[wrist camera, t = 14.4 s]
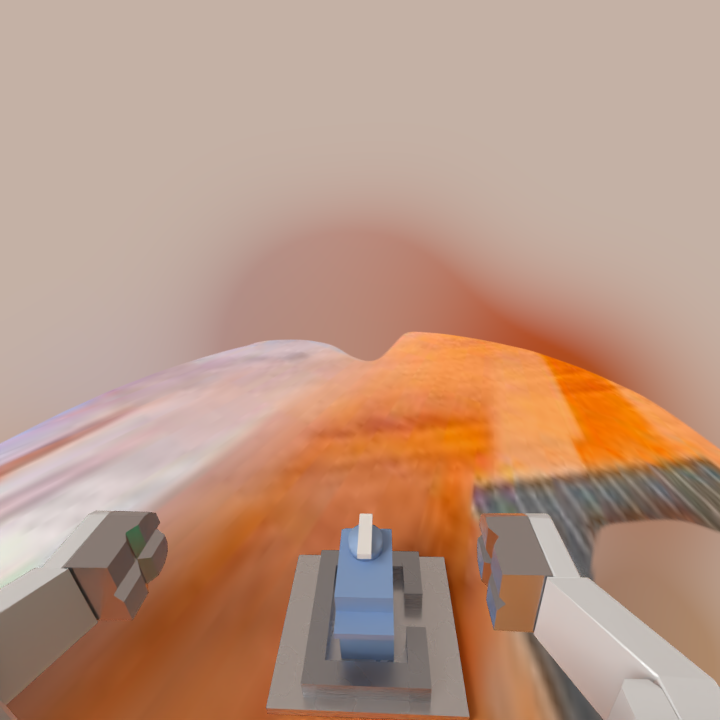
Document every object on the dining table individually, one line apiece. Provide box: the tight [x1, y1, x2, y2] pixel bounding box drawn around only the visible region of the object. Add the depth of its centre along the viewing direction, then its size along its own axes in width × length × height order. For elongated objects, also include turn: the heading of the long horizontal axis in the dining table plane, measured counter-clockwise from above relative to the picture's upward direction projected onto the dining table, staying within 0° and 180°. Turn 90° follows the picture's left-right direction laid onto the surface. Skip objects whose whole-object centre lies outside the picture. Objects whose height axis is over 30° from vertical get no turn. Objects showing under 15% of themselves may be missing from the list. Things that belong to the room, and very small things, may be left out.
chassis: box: [266, 550, 469, 720], centre depth 32 cm, size 14×12×2 cm
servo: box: [334, 514, 394, 660], centre depth 30 cm, size 4×8×9 cm, turn 177°
